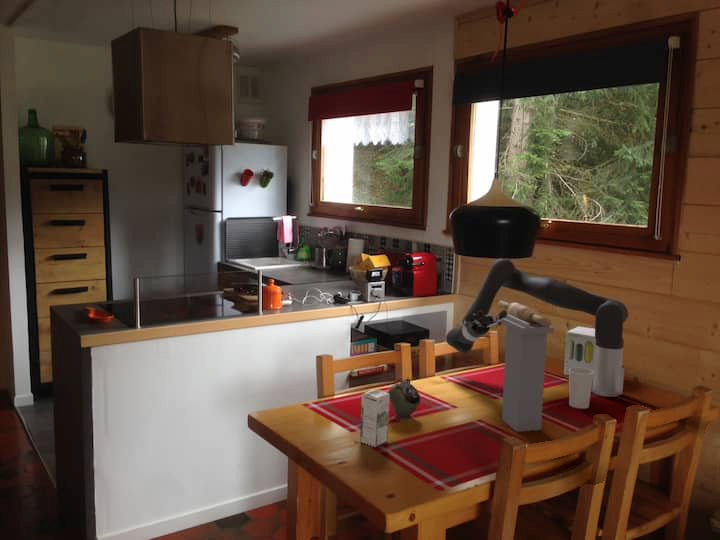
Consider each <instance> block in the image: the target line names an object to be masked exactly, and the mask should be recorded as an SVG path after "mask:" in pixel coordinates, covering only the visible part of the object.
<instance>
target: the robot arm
mask: <svg viewBox="0 0 720 540" xmlns="http://www.w3.org/2000/svg"><path fill="white" fill-rule="evenodd" d="M502 287H503V288H506V289H510V290H514V291H517V292H521V293H524V294H526V295H529V296H531V297H533V298H535V299H538V300H540V301H543V302H545V303H547V304H548V305H549V304H550V305H553V306H555V307H558V308H562V309H565V310H570V311H576V312H583V313H586V314H589V315H592V316H594V317H595V321H594V329H595V339H596V347H595V361H594V375H593V381H592V388H591V393H593V394H594V395H597V396H601V397H607V398H608V397H609V398H610V397H611V398H613V397H614V398H615V397H619V396H622V395H623V389H624V388H623V387H624V377H625V368H624V367H623V355H624V346H625V345H624V343H625V342H624V338H623V331H624V330H623V329H624V323H625V322H626V321H627V319H628V318H629V311H628V307H626V305H625V304H624V303H623V302H621V301H619V300H616V299H612V298H608V297H604V296H600V295H596V294H593V293H590V292H588V291H586V290H584V289H582V288H579V287H577V286H574V285H572V284H569V283H566V282H564V281H561V280H558V279H556V278H552V277H547V276H536V275H535V276H534V275H531V274H529V273H526V272H523V271H522V270H520V269H518V268H516V266H515V264H514V263H513V262H512V261H511V260H510V259H508V258H505V259H502V258H499V259H497V260H495V261H494V262H493V263H492V265H491V268H490V270H489V271H488V274H487V276H486V278H485V281H484V283H483V285H482V287H481V288H480V291H479V293H478V295H477V296H476V298H475V300H474V301H473V303H472V304H471V306H470V308H469V309H468V311H467V312H466V314H465V316H464V317H463V318H462V324H463V325H462V326H457V327H453V328H452V329H450V330H449V331H448V332H447V334H446V336H445V340H446V343H447V344H448V345H449V346H451V347H452V349H455V350H456V351H458V352H459V353H461V354H463V355H467V354H469V353H470V352H471V351H472V350H473V347H474V343H475V342H476V341H477V340H479V339H480V338H482V337H483V336H485V335H486V334H487V333H488V332H489V331H490V329H491V327H492V326H494V325H497V326H502V325H503V324H501V318H506V315H508V311H507V310H506V309H502V310H501V311H500V312H499V313H492V314H489V313H490V311H491V309H492V305H493V302H494V300H495V298H496V296H497V294H498V292H499V290H500V289H501V288H502Z"/></svg>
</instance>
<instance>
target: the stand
mask: <svg viewBox="0 0 720 540" xmlns="http://www.w3.org/2000/svg"><path fill="white" fill-rule="evenodd" d="M501 324H502V325H503V326H506V336H505V356H504V371H503V373H504V374H503V375H504V376H503V377H504V378H503V392H502V413H501V421H503V423H505V424H506V425H508V426H509V427H510V428H512V429H513V430H514V431H515V432H519V433H520V432H531V431H532V430H533V431H541V430H542V423H543V422H542V419H543V402H544V401H543V400H544V390H545V389H544V387H545V373H546V372H545V371H546V354H547V338H548V334H552V333H553V334H554V332H555V327H554V326H552V325H551V326H550V327H546V326H543V325H541V324H539V323H535V324H529V323H527V322H525V321H523V320H520V319H518V318H516V317H514V316H511V315H510V314H507V315H506V318H501Z"/></svg>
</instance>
